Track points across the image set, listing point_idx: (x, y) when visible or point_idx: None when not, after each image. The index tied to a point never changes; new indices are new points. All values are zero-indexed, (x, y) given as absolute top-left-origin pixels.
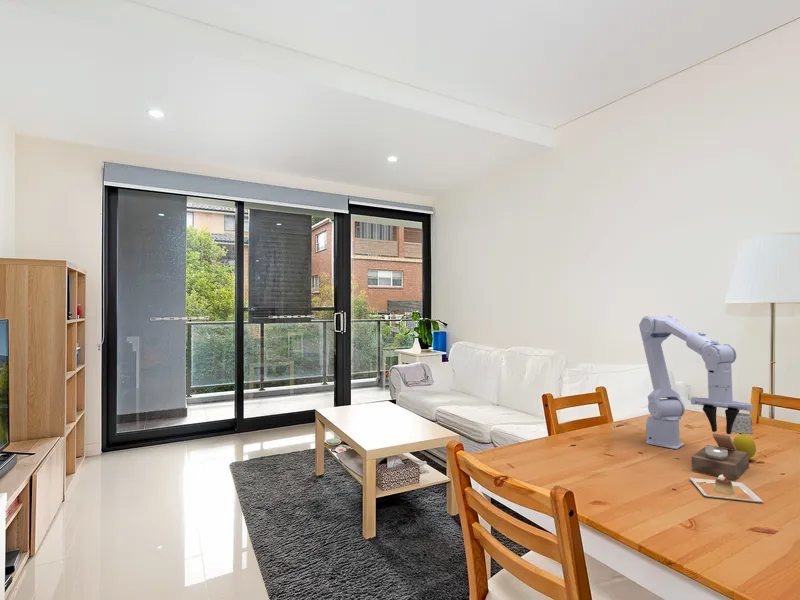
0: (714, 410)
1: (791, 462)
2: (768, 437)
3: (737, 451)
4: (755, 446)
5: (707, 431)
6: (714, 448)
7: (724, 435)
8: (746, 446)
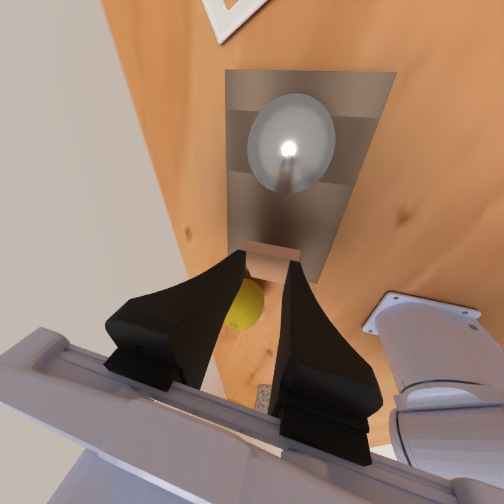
0: (276, 378)
1: None
2: (241, 378)
3: None
4: None
5: None
6: (294, 152)
7: (257, 252)
8: None
